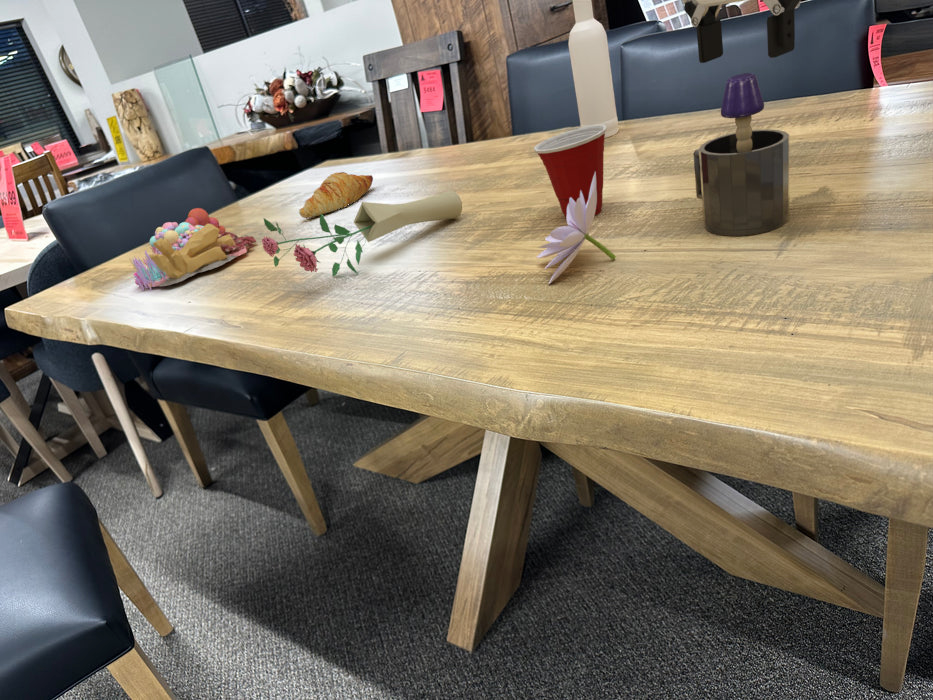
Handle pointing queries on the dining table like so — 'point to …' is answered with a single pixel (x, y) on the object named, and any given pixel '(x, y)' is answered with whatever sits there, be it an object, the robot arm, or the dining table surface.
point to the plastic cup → (575, 163)
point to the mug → (744, 183)
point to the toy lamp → (742, 106)
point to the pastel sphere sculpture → (188, 250)
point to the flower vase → (372, 226)
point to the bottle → (592, 70)
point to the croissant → (336, 193)
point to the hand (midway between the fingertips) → (744, 57)
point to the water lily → (573, 232)
